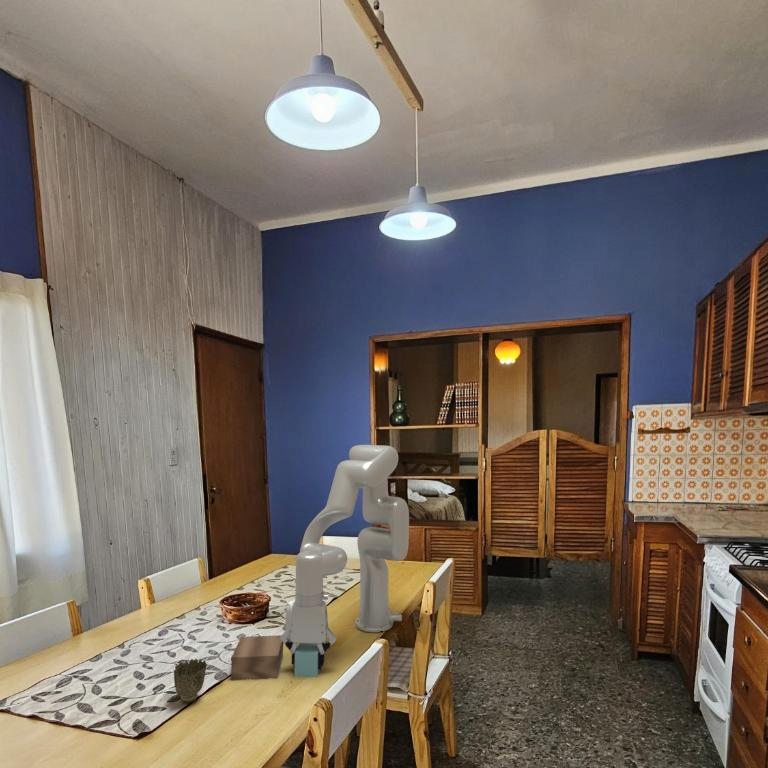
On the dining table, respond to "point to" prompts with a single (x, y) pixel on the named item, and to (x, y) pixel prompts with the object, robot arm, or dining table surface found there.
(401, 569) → the dining table surface
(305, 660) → the teal cube
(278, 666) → the walnut block
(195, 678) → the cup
